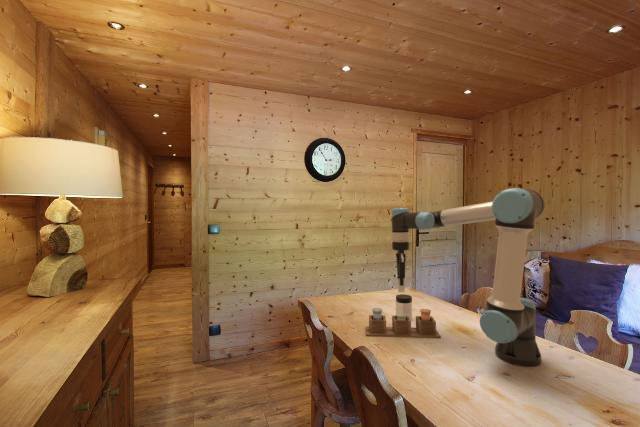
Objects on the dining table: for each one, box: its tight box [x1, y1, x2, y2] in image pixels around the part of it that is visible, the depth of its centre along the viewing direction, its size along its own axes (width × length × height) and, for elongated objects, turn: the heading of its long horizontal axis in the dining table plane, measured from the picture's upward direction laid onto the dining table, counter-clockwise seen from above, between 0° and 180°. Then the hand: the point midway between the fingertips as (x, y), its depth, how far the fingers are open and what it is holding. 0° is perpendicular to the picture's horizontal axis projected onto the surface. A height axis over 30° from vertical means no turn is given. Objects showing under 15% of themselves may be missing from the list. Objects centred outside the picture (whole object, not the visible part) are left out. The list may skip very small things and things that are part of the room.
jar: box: [395, 294, 413, 322], centre depth 167 cm, size 9×8×12 cm
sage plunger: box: [395, 313, 406, 320], centre depth 148 cm, size 5×5×7 cm
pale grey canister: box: [371, 307, 383, 320], centre depth 150 cm, size 5×5×7 cm
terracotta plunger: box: [419, 308, 432, 321], centre depth 147 cm, size 5×5×7 cm
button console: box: [365, 314, 442, 339], centre depth 148 cm, size 10×33×7 cm, turn 84°
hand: (401, 291), depth 148 cm, fingers closed
